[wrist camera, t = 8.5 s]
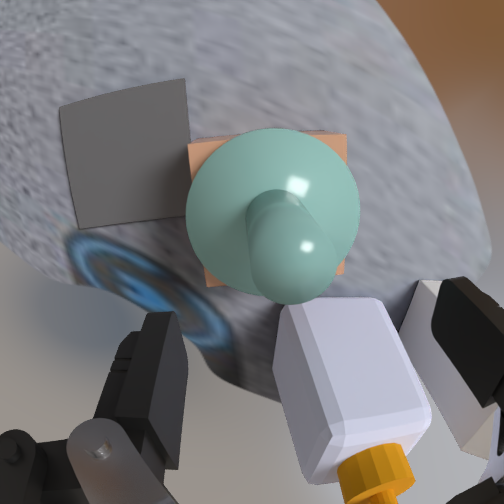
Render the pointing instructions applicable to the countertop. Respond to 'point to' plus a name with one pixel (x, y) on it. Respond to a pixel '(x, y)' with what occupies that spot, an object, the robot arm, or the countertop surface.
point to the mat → (128, 154)
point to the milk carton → (445, 376)
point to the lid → (273, 214)
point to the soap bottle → (349, 396)
